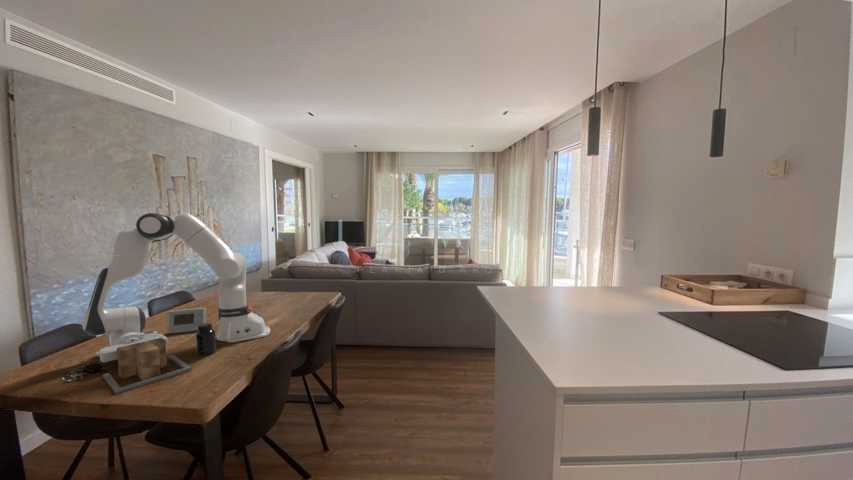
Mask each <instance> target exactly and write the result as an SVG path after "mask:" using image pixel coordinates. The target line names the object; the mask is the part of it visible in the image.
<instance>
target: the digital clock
mask: <svg viewBox="0 0 853 480" xmlns="http://www.w3.org/2000/svg"><path fill="white" fill-rule="evenodd" d="M166 318H167V320H166V321H167V322H166V333H167V334H170V335H171V334H183V333H193V332H198V325H200V324H203V323H207V309H206V307H193V308H183V309H175V310H174V309H173V310H168V312H167V317H166Z"/></svg>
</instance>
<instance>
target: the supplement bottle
mask: <svg viewBox="0 0 853 480" xmlns="http://www.w3.org/2000/svg"><path fill="white" fill-rule="evenodd" d="M216 341H217V337H216V330H214V329H213V324H212V322H206V323H203V324H200V325H198V331H196V334H195V346H196V355H197V356H200V357H203V356H210V355H212V354H214V353H216V351H217V342H216Z"/></svg>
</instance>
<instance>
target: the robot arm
mask: <svg viewBox="0 0 853 480" xmlns="http://www.w3.org/2000/svg"><path fill="white" fill-rule="evenodd" d="M173 236H176V237H178V238H180V240H182V241H183V242H184V243H185V244H186V245H187V246H188V247H189V248H191V249H192V250H193V251H194V252H195V253H197V255H199V256H200V257H201V259H202V260H203V261H204V262H205V263H206V265H208V267H209V268H210V269H211V270H212V272H214V274H215V275H216V276H217V278H219V286H218V304H219V305H218V310H217V315H218V317H217V318H218V320H219V324H218V330H217V336H216V341H217V340H218V341H221V342H227V343H231V344H232V343H236V342H237V343H238V342H241V341H246V340H247V341H248V340H254V339H259V338H263V337H264V338H265V337H267V336H269V334H270V333H271V328H270V327H269V326H268V325H266V324H265V320H264V318H263V317H261V316H259V315H257V314H256V313H254V312H252V305H251V304H247V291H246V290H247V286H246V285H247V260H246V257H244V255H242V254H241V253H239V252H235V251H234V252H233V251H232V250H231V249H230V247H228V246H227V245H226V244H225V242H224V241H223V239H222V238H221V237H220V236H218V234H216V233H215V232H214V231H213V230H212V229H211V228H210V227H209V226H208V225H207V224H205V223H204V222H203V221H202V220H200V219H199V218H197V217H196V216H194V215H192V214H191V213H188V212H182V213H179V214H177V215H176V216H174V217H171V216H168V215H163V214H162V213H161V214H160V213H157V212H149V213H144V214H143V215H141V216H140V217H139V218H137V221H136V224H135V229H134V228H126V229H124V230H123V229H122V230H121V231H119V232H118V233H117V235H116V238H115V241H114V245H113V251H112V259H111V262H110V264H108V266H107V267H106V268H103V269H101V271H100V272H99V275H98V276H97V279H96V282H95V285H94V288H93V291H92V294H91V298H90V300H89V301H90V302H89V305H88V307H87V311H86V314H85V316H84V317H83V320H82V331H83V332H84V333H86V335H87V334H88V335H89V336H93V337H95V336H96V337H97V336H102V335H105V334H109V337H108V340H109V345H110V346H106V347H101V348H100V350H99V351H97V352H95V356H96V357H99V361H100V362H101V363H107V362H112V361H115V360H118V357H117V348H118V347H123V346H127V345H131V344H135V343H140V342H144V341H148V340H153V339H157V338H161V337H162V338H163V339H165V344H166V347H168V345H169V340H168V337H167V336H166V335H164V334H161V333H158V331H157V330H155V331H146V332H143V331H144V330H145V327H146V322H147V321H146V320H147V319H146V314H145V312H144V311H143V310H142V309H141V308H140V307H138V306H125V307H115V308H104V307H105V304H106V300H107V297H108V294H109V290H110V289H111V287H112V286H113V285H115V284H116V283H119V282H121V281H122V282H123V281H125V280H128V279H131V278H134V277H136V276H138V275H140V274H141V273H143V272H144V271H145V269H146V267H147V266H148V265H147V263H148V260H149V259H148V258H149V257H148V255H149V254H148V253H149V246H150V244H151V243H155V242H160V241H161V242H162V241H165V240H168V239H170V238H171V237H173Z"/></svg>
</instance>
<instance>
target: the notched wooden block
mask: <svg viewBox="0 0 853 480" xmlns="http://www.w3.org/2000/svg"><path fill="white" fill-rule="evenodd" d="M117 357H118V359H117V367H118V368H117V369H118V376H119V377H120V378H121V379H125V378H129V377H133V376H136V375H137V376H138V378H139V379H140V381H143V380H146V379H149V378H153V377H156V376H159V375H162V374H161V373H162V372H161V368H164V367H167V366H168V365H167V364H168V363H167V362H168V361H167V360H168V359H167V346H166V344H165V339H163V338H162V337H161V338H157V339H153V340H148V341H144V342H140V343H135V344H131V345H127V346H123V347H118V348H117Z"/></svg>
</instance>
